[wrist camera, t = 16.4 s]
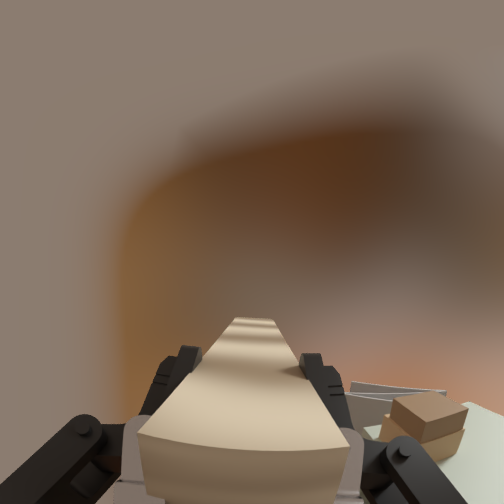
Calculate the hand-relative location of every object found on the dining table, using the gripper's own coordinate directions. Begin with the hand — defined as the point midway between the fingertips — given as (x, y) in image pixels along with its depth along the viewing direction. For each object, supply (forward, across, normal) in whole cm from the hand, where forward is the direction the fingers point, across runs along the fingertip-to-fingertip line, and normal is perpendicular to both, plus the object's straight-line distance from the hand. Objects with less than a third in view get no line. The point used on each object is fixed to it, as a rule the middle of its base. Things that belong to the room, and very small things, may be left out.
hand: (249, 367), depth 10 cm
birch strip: (+4, 0, +6) cm, 7 cm away
